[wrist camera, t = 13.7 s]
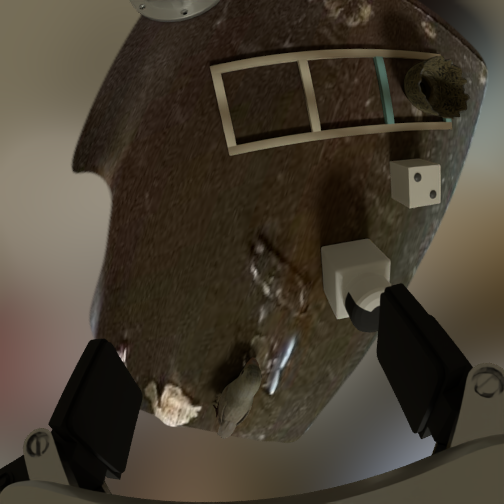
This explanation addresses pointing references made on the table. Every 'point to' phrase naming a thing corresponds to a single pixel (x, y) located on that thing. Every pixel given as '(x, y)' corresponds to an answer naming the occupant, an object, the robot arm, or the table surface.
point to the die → (415, 182)
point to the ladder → (310, 97)
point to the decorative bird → (238, 398)
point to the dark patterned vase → (436, 87)
